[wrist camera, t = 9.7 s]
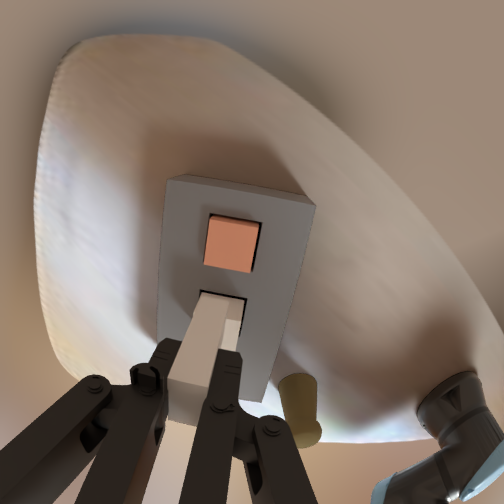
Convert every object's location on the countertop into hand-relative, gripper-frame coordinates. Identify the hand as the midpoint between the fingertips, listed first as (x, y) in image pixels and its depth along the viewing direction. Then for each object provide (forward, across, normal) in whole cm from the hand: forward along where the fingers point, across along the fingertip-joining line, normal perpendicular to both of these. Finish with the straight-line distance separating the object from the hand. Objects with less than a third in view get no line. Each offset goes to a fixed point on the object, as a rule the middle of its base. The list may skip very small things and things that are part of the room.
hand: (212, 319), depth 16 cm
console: (+19, 0, +8) cm, 20 cm away
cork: (+19, -13, +22) cm, 32 cm away
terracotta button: (+15, 0, 0) cm, 15 cm away
